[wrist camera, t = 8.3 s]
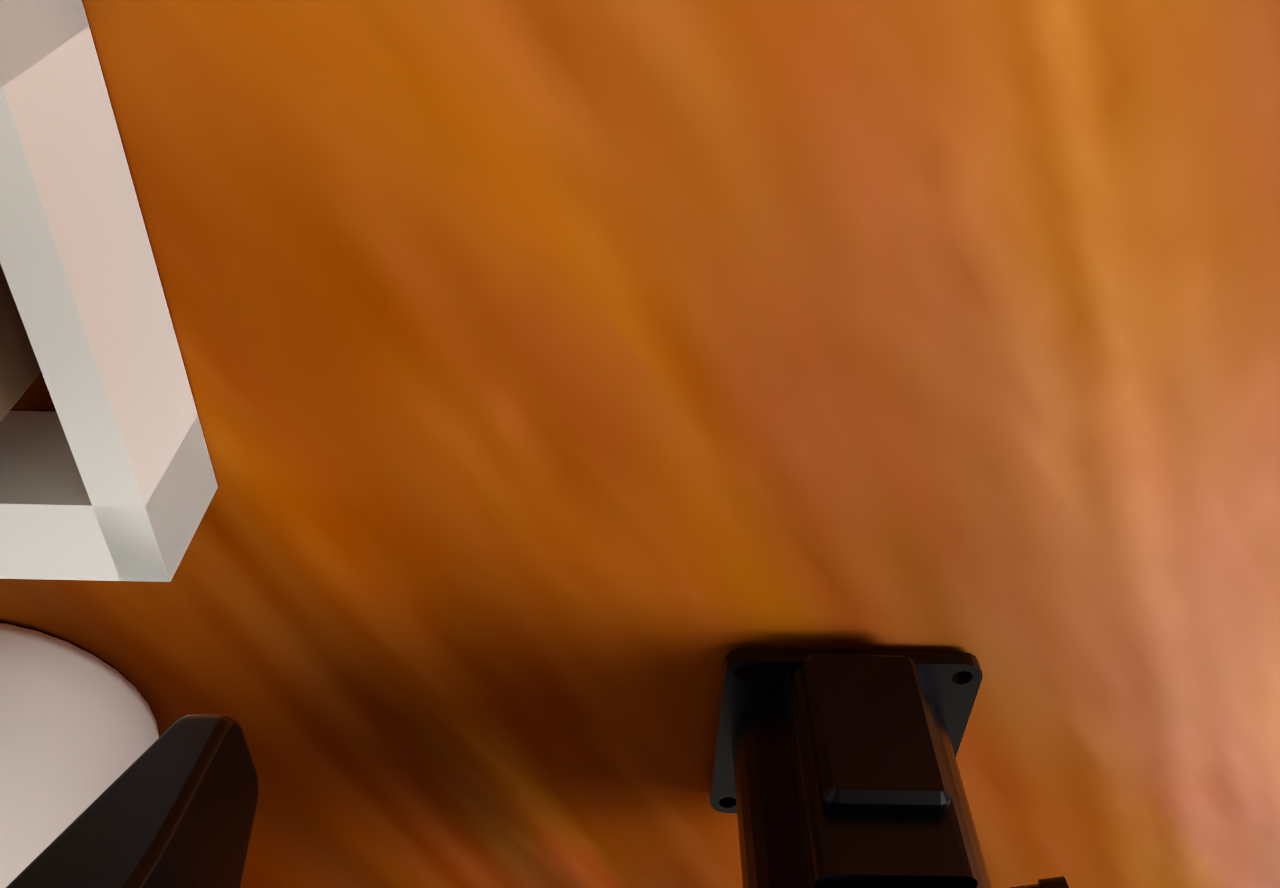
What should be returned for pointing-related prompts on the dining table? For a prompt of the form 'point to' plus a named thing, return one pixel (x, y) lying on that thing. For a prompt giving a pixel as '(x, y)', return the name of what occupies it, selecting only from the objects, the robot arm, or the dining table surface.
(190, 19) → the dining table surface
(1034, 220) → the dining table surface
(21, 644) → the milk bottle
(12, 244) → the grey divided tray
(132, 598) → the dining table surface
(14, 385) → the walnut block
